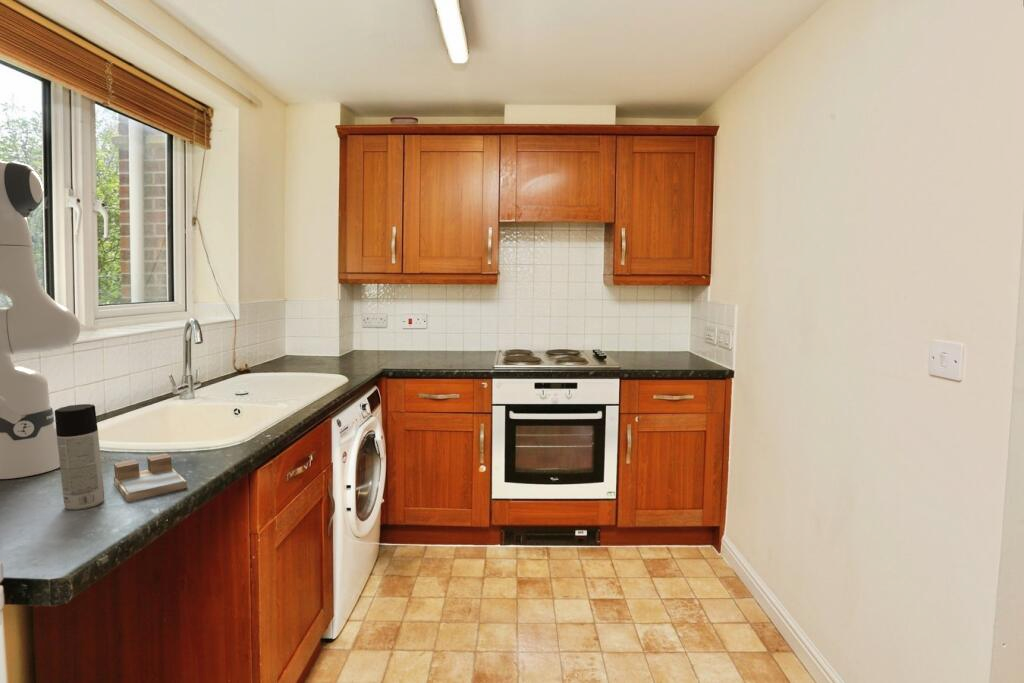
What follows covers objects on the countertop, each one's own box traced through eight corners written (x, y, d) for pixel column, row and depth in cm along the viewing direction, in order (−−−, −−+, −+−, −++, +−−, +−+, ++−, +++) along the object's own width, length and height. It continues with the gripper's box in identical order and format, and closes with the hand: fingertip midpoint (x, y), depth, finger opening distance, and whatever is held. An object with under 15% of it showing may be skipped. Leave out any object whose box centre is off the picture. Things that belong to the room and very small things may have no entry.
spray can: (112, 497, 123) (103, 403, 120) (90, 510, 116) (80, 410, 114) (79, 498, 122) (69, 403, 120) (55, 511, 116) (44, 411, 113)
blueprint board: (114, 483, 131) (112, 463, 131) (169, 471, 139) (168, 452, 138) (127, 501, 120) (125, 480, 120) (187, 487, 128) (185, 467, 127)
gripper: (-40, 362, 95) (41, 409, 104) (-65, 353, 108) (10, 396, 117) (-75, 393, 93) (12, 440, 101) (-96, 381, 105) (-17, 423, 114)
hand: (10, 416), depth 109 cm, fingers open, 8 cm apart
